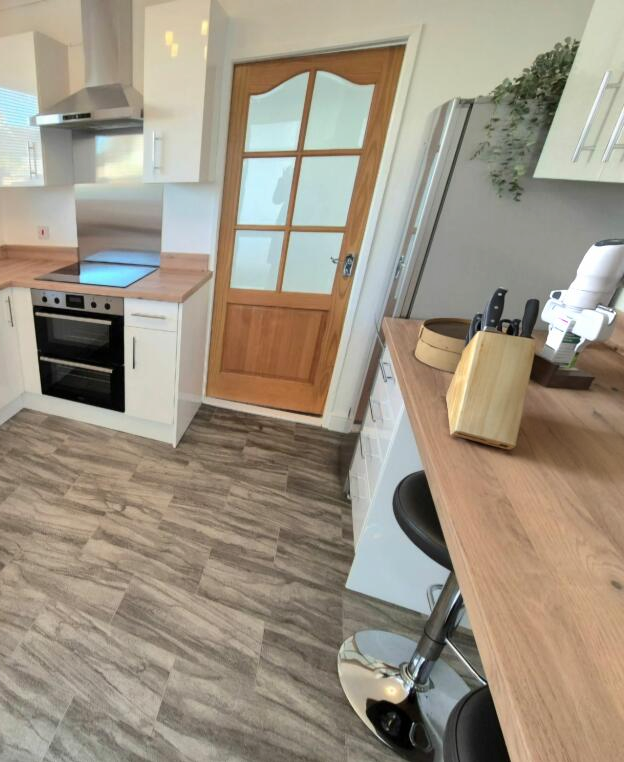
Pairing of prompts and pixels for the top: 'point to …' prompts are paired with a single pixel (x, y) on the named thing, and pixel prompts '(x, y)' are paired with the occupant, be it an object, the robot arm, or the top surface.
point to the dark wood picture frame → (558, 374)
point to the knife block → (493, 375)
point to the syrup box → (562, 343)
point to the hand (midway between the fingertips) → (563, 345)
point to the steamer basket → (443, 342)
